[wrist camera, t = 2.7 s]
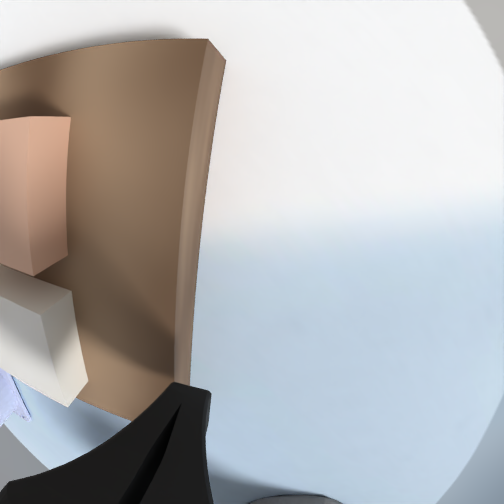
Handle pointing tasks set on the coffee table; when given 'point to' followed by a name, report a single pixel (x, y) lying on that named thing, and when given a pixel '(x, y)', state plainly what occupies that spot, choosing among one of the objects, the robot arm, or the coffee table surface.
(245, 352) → the coffee table surface
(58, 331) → the tile white
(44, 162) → the tile terracotta
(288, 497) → the coffeepot
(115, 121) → the board
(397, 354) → the coffee table surface
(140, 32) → the coffee table surface
